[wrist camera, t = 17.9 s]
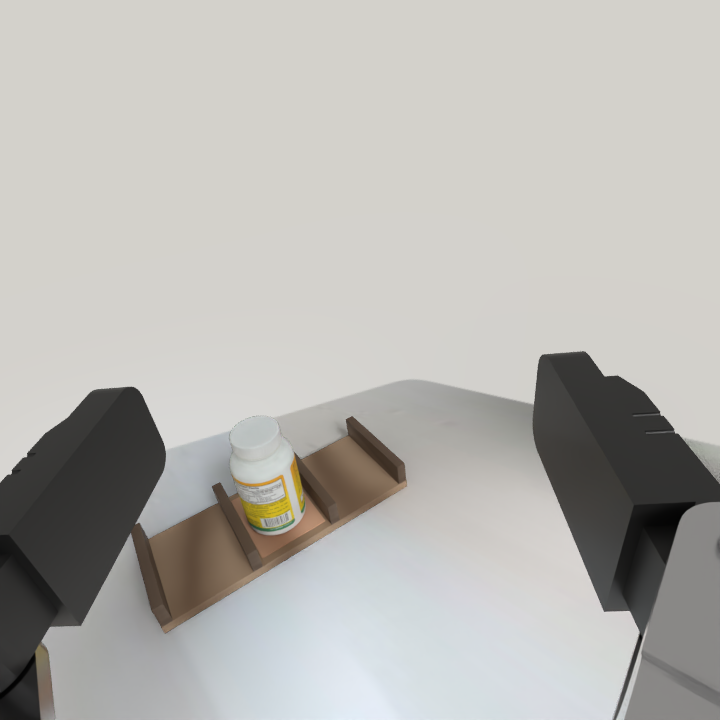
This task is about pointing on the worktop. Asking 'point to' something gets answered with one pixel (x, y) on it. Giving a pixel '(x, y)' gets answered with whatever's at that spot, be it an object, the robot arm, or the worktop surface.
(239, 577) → the slot rack
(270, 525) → the supplement bottle
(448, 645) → the worktop surface
